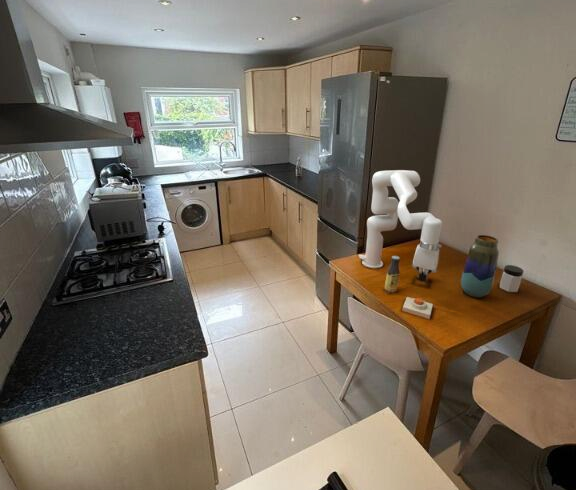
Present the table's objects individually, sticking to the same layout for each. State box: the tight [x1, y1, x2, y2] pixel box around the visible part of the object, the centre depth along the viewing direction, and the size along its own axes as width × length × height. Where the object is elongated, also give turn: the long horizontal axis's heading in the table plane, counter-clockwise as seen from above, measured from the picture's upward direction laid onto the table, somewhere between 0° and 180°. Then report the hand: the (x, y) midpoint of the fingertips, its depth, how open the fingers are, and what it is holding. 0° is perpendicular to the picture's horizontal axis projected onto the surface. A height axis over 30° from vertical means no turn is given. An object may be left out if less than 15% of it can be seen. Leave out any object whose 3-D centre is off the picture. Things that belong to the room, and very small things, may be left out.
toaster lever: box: [415, 268, 428, 283], centre depth 163 cm, size 11×5×2 cm, turn 149°
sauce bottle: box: [384, 255, 401, 295], centre depth 156 cm, size 7×6×20 cm
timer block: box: [402, 296, 434, 320], centre depth 144 cm, size 12×10×4 cm
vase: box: [460, 234, 500, 298], centre depth 153 cm, size 14×14×31 cm
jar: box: [499, 264, 524, 293], centre depth 160 cm, size 9×8×12 cm
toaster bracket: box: [416, 270, 430, 284], centre depth 166 cm, size 10×8×12 cm
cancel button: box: [415, 297, 424, 305], centre depth 143 cm, size 4×4×2 cm
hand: (421, 280), depth 142 cm, fingers closed
